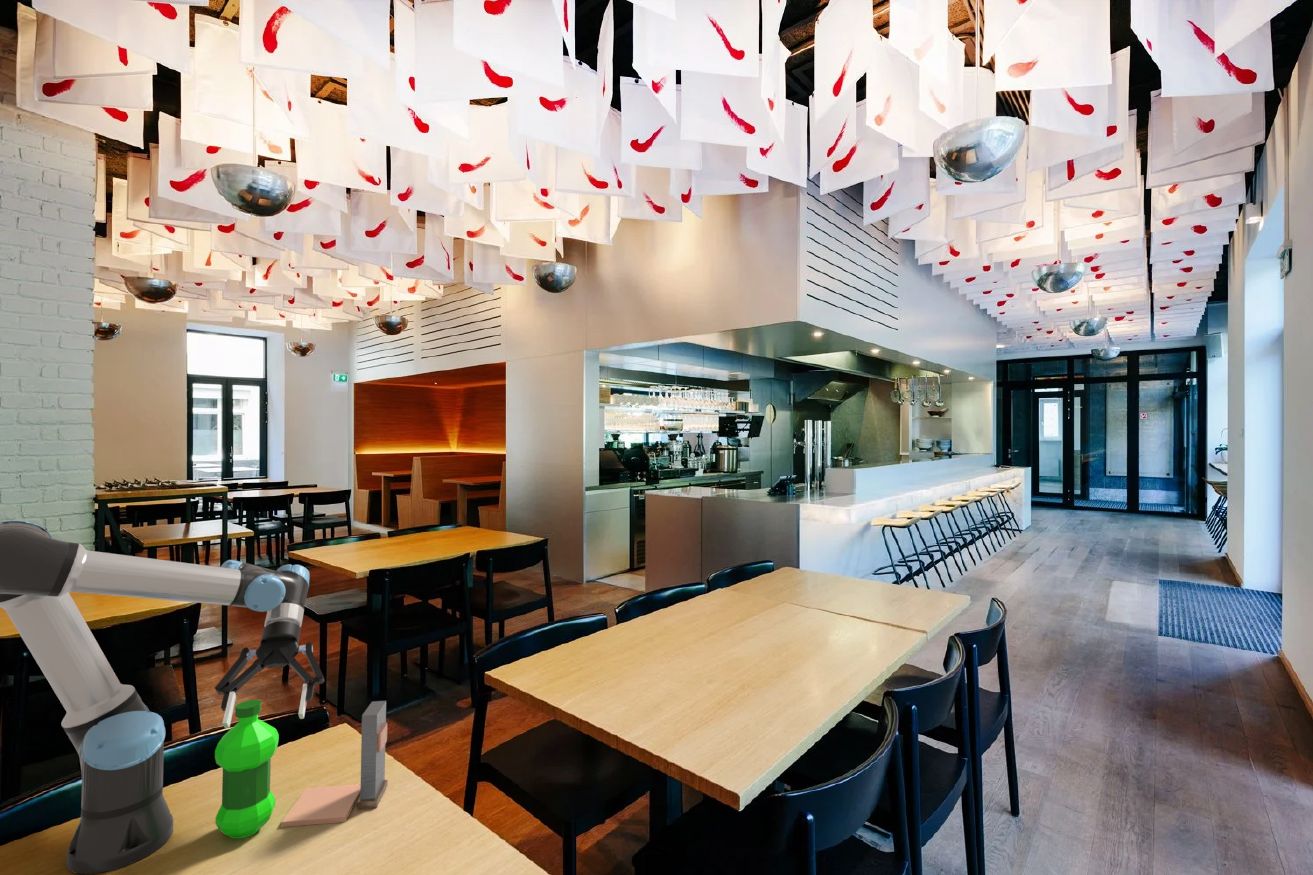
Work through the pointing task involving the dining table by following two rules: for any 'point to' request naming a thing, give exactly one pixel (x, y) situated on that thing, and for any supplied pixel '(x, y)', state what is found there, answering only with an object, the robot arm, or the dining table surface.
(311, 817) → the terracotta pad
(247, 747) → the plastic bottle
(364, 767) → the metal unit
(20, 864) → the dining table surface
